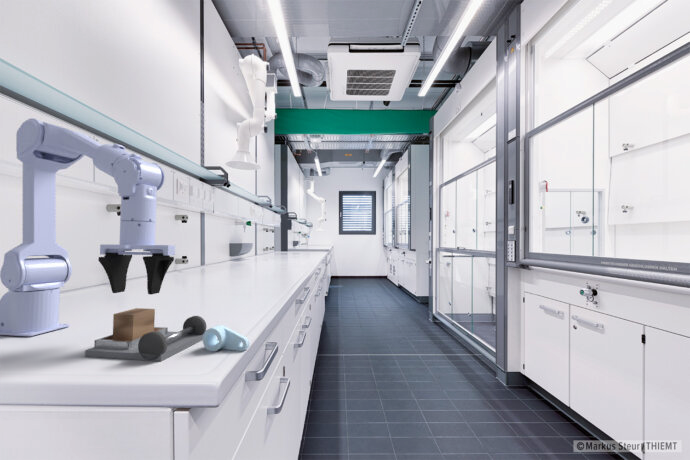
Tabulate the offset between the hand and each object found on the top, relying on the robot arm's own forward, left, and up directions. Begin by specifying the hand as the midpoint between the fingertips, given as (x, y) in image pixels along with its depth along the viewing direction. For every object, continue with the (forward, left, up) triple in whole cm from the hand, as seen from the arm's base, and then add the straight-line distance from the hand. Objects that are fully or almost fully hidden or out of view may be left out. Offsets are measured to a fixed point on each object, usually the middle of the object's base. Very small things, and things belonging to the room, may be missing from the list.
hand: (136, 293), depth 59 cm
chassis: (+5, -2, -9) cm, 11 cm away
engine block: (+1, -2, -8) cm, 8 cm away
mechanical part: (+19, -1, -10) cm, 21 cm away
